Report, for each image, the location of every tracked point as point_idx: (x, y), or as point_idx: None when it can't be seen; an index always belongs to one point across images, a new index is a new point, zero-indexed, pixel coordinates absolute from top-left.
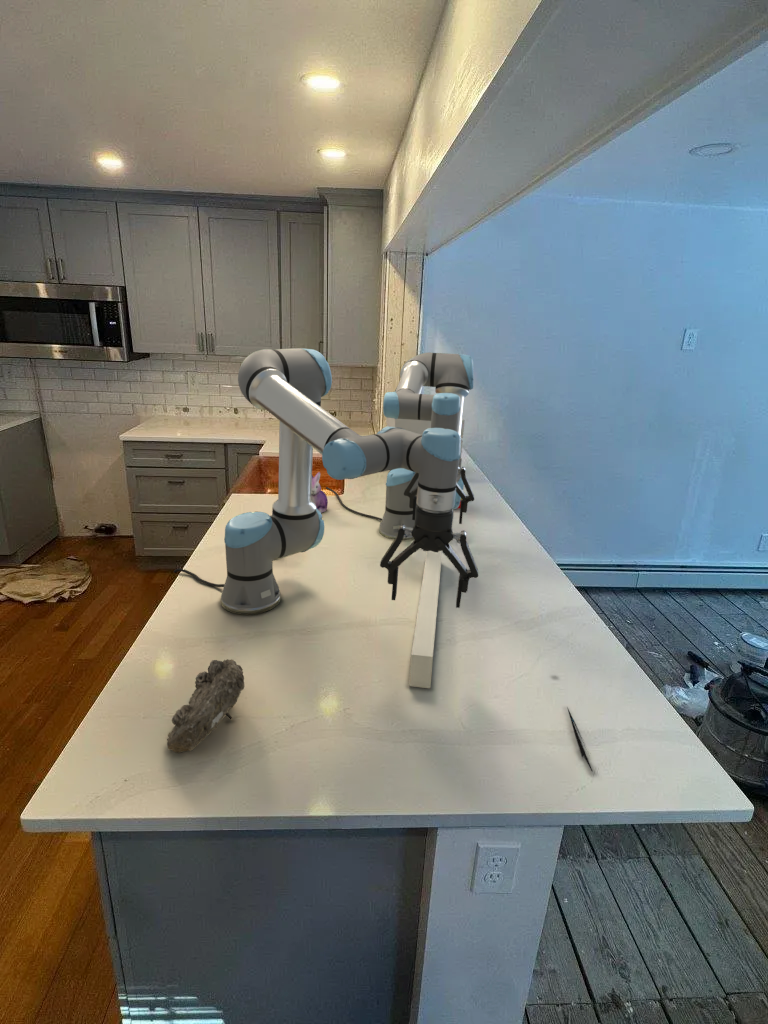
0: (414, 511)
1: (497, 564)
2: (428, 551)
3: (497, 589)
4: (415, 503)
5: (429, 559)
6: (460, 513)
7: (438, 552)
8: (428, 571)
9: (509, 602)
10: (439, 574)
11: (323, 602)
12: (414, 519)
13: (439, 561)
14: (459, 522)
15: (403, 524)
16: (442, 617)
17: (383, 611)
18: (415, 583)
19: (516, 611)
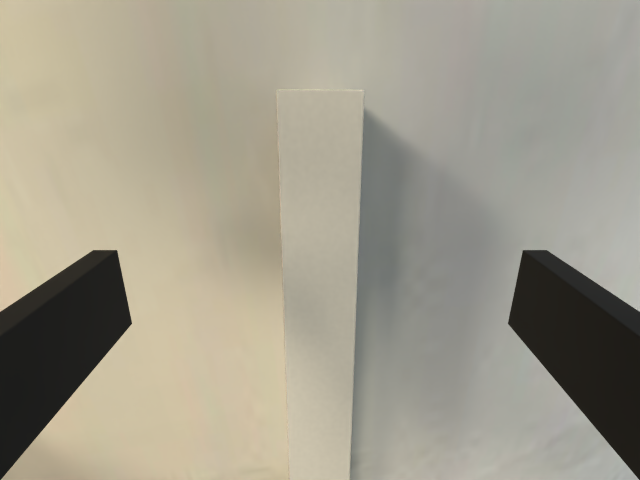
0: (76, 377)
1: (619, 33)
2: (289, 255)
3: None
4: (11, 462)
5: (301, 339)
6: (572, 395)
7: (340, 257)
8: (305, 438)
9: None
10: (348, 450)
11: None
12: (125, 325)
13: (347, 349)
14: (517, 330)
15: None
16: (358, 451)
17: (201, 451)
18: (263, 287)
19: None
